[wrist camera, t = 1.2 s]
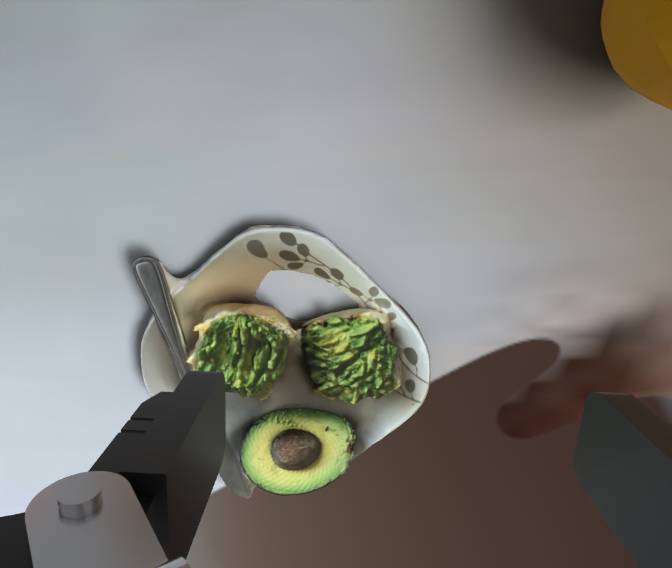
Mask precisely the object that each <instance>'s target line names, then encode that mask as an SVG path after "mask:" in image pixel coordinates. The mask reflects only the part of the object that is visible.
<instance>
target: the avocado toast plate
mask: <svg viewBox="0 0 672 568" xmlns="http://www.w3.org/2000/svg"><path fill="white" fill-rule="evenodd" d="M133 268H134V273H135V276H136V279H137V281H138V284H139V286H140V288H141V291H142V293H143V294H144V296H145V299H146V301H147V303H148V305H149V307H150V309H151V311H152V315H151V317H150V319H149V323H148V325H147V327H146V329H145V331H144V335H143V337H142V342H141V367H142V374H143V379H144V383H145V385H146V387H147V389H148V391H149V392H150V394H151V395H152V396H154V395H156V394H158V393H159V392H161V391H163V392H174V390H175V389H176V387H177V386H178V384H179V383H180V381H181V380H182V379H183V377H184V376H185V374H186V373H187V372H188V371H189V370H193V371H212V372H223V373H224V376H225V402H226V441H225V451H224V456H223V461H222V465H221V468H220V470H219V474H220V476H221V477H222V479H223V481H224V482H225V484H226V485H227V487H228V488H229V489H230V491H231V492H232V493H233V494H235V495H238V496H242V497H244V498H247V499H248V498H249V497H250V496H251V495H252V490H253V489H254V487H255V486H258V487H259V488H261V489H263V490H265V491H267V492H270V493H273V494H277V495H282V496H286V495H300V494H306V493H309V492H312V491H315V490H318V489H320V488H322V487H325V486H327V485H328V484H330V483H331V482H333V481H335V480H336V479H337V478H339V477H340V476H341V475H342V474H343V473H345V472H346V470H347V469H348V468H349V465H350V461H352V460H353V459H354V458H355V457H357V456H358V455H359V454H360V453H362V452H363V451H365V450H366V449H368V448H369V447H370V446H371V445H372V444H374V443H375V442H377V441H379V440H381V439H382V438H383V437H385V436H386V435H387V434H388V433H390V432H391V431H393V430H394V429H396V428H397V427H398V426H400V425H401V424H402V423H404V422H405V421H406V420H407V419H408V418H409V417H410V416H412V415H413V414H414V413H415V412H416V411H417V410H418V409H419V408H420V407H421V405H422V404H423V402H424V400H425V398H426V395H427V392H428V389H429V385H430V356H429V351H428V348H427V345H426V343H425V340H424V338H423V336H422V334H421V332H420V330H419V328H418V326H417V325H416V324H415V322H414V321H413V320H412V318H411V317H410V315H409V314H408V313H407V311H406V310H405V309H404V308H403V307H402V306H401V305H399V304H398V303H397V302H395V301H394V300H392V299H391V298H390V297H389V296H388V295H387V294H386V293H385V292H384V291H383V290H382V289H381V288H380V287H379V286H378V285H377V284H376V283H375V282H374V281H373V280H372V279H371V278H370V277H369V276H368V275H367V274H366V273H365V272H364V270H363V269H362V268H360V267H359V266H358V265H357V264H356V263H355V262H354V261H353V260H352V259H351V258H350V257H349V256H348V255H346V254H345V253H344V252H343V251H341V250H340V249H339V248H338V247H337V246H335V245H334V244H333V243H332V242H331V241H330V240H329V239H327V238H326V237H325V236H322V235H319V234H317V233H316V232H312V231H309V230H306V229H302V228H300V227H297V226H294V225H255V226H251V227H249V228H248V229H246V230H244V231H242V232H241V233H239V234H238V235H236V236H235V237H234V238H233V239H232V240H231V241H230V242H229V243H228V244H227V245H225V246H223V247H222V248H220V249H219V250H218V251H217V252H216V253H214V254H213V255H211V256H210V258H209V259H208V260H207V261H206V262H205V263H204V264H202V265H201V266H200V268H199V269H197V270H196V271H194V272H192V273H190V274H189V275H187V276H186V277H184V278H176V277H174V276H172V275H171V274H170V273H169V272H168V271H167V270H166V269H165V267H164V266H163V264H162V263H161V262H160V261H159V260H158V259H157V258H155V257H152V256H144V257H140V258H138V259H137V260H136V261H135V262H134V264H133ZM271 270H292V271H298V272H301V273H306V274H311V275H315V276H317V277H319V278H322V279H324V280H326V281H327V282H329V283H332V284H334V285H335V286H336V287H338V288H339V289H340V290H342V291H343V292H344V293H345V294H347V295H348V296H349V297H350V298H351V299H352V300H354V301H355V302H356V303H357V304H358V306H359V308H356V309H348V310H343V311H339V312H332V313H329V314H325V315H322V316H320V317H317V318H314V319H311V320H304V321H296V320H294V319H290V318H287V317H285V316H284V314H283V313H281V312H280V311H279V310H277V309H274V308H273V306H272V305H270V304H267V303H263V302H259V301H257V299H256V297H255V294H256V291H257V289H258V287H259V285H260V283H261V281H262V280H263V279H264V277H265V276H266V275H267V273H268V272H269V271H271Z"/></svg>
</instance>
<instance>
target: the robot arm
mask: <svg viewBox="0 0 672 568" xmlns="http://www.w3.org/2000/svg"><path fill="white" fill-rule="evenodd" d="M225 441H226V402H225V376H224V373H223V372H212V371H193V370H189V371H188V372H187V373H186V374H185V376H184V377H183V379H182V380H181V381H180V383H179V384H178V386H177V387H176V389H175V390H174V392H163V391H161V392H159V393H158V394H156V395H154V396H153V397H151V398H149V399H148V400H146V401H144V402H143V403H142V404H141V405H140V406H139V407H138V409H137V410H136V411H135V413H134V414H133V415H132V416H131V419H130V420H128V421H127V423H126V424H125V425H124V427H123V428H122V429H121V433H118V434H117V435H116V437H115V438H114V439H113V441H112V442H111V443H110V444H109V446H108V447H107V448H106V449H105V451H104V452H103V453H102V455H101V456H100V457H99V458H98V460H97V461H96V462H95V463H94V465H93V466H92V467H91V469H90V470H89V471H88V472H84V473H79V474H75V475H71V476H69V477H66V478H63V479H61V480H59V481H57V482H55V483H53V484H51V485H49V486H48V487H46V488H45V489H43V490H42V491H41V492H40V493H38V494H37V495H36V496H35V497H34V498H33V500H32V501H31V502H30V503H29V505H28V507H27V509H26V512H24V513H20V514H15V515H10V516H4V517H0V568H191V567H190V566H189V564H188V562H187V561H186V558H187V555H188V552H189V550H190V547H191V545H192V542H193V539H194V537H195V534H196V531H197V529H198V526H199V523H200V521H201V518H202V515H203V513H204V510H205V507H206V505H207V502H208V499H209V497H210V494H211V491H212V489H213V486H214V484H215V481H216V478H217V476H218V473H219V470H220V468H221V465H222V461H223V456H224V451H225ZM574 467H575V473H576V476H577V479H578V481H579V483H580V485H581V486H582V488H583V489H584V491H585V492H586V493H587V495H588V496H589V497H590V499H591V500H592V502H593V503H594V505H595V506H596V507H597V509H598V510H599V512H600V513H601V514H602V516H603V517H604V518H605V520H606V521H607V523H608V524H609V525H610V527H611V528H612V530H613V531H614V532H615V533H616V535H617V537H618V538H619V539H620V540H621V542H622V543H623V545H624V546H625V548H626V549H627V550H628V552H629V553H630V555H631V556H632V557H633V559H634V560H635V561H636V563H637V564H638V566H639V567H640V568H672V426H671V425H669V424H667V423H666V422H664V421H663V420H661V419H660V418H659V417H658V416H657V415H655V414H654V413H653V412H652V411H650V409H648V408H647V407H646V406H645V405H644V404H642V403H641V402H640V401H639V400H638V399H636V398H635V397H634V396H632V395H631V394H623V393H604V392H592V393H591V394H590V395H589V396H588V397H587V399H586V402H585V406H584V411H583V416H582V420H581V425H580V430H579V435H578V440H577V444H576V449H575V455H574Z"/></svg>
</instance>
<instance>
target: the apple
mask: <svg viewBox="0 0 672 568" xmlns="http://www.w3.org/2000/svg"><path fill="white" fill-rule="evenodd" d="M601 30H602V37H603V41H604V45H605V48H606V51H607V54H608V57H609V59H610V61H611V64H612V66H613V69H614V70H615V71H616V72H617V73H618V75H619V76H620V77H621V78H622V79H623V80H624V81H625V82H626V83H627V85H628V86H629V87H630V88H631V89H632V90H634V91H636V92H637V93H639V94H641V95H642V96H644V97H646V98H647V99H649V100H651V101H653V102H655V103H657V104H659V105H662V106H664V107H666V108H669V109H671V110H672V0H604V3H603V8H602V14H601Z"/></svg>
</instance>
